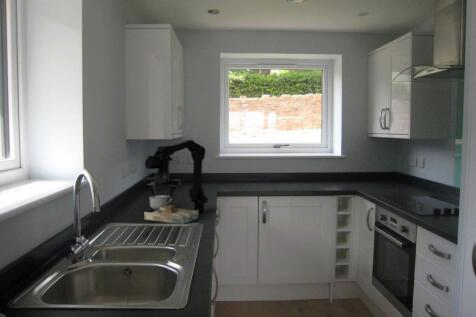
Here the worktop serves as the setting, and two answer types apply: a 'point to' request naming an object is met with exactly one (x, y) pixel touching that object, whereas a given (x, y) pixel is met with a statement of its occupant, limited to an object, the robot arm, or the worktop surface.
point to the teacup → (159, 201)
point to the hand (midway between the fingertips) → (162, 197)
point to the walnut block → (170, 209)
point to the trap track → (172, 215)
